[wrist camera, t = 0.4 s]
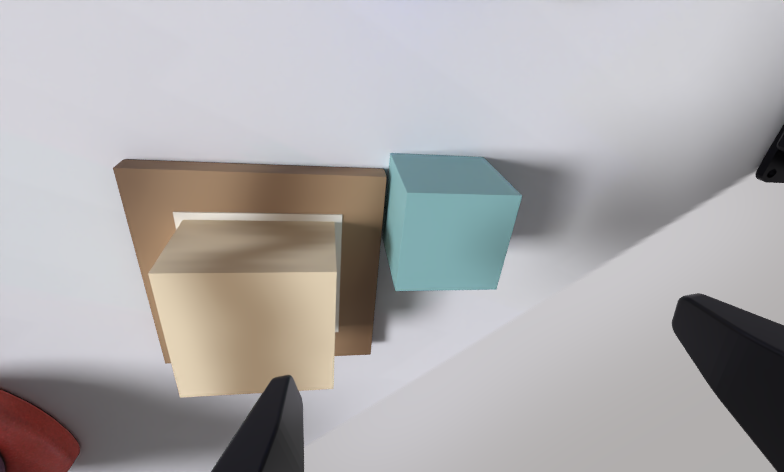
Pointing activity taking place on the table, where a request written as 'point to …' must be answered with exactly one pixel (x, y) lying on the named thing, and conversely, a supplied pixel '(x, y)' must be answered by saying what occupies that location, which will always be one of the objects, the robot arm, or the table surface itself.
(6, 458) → the stacking bear
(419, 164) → the teal block
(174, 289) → the beech block
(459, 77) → the table surface
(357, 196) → the walnut board
